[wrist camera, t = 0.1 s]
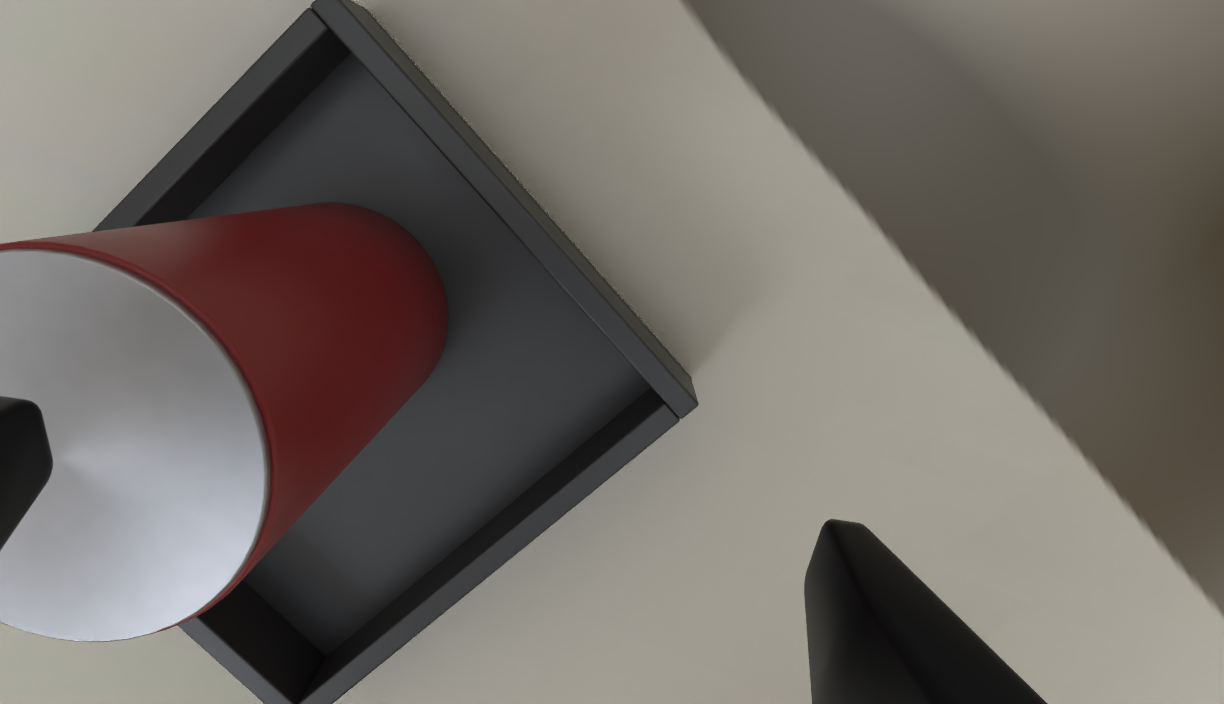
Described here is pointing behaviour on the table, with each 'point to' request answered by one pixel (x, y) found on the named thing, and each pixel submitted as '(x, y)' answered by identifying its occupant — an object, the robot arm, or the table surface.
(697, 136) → the table surface
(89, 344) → the can
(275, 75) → the tray
